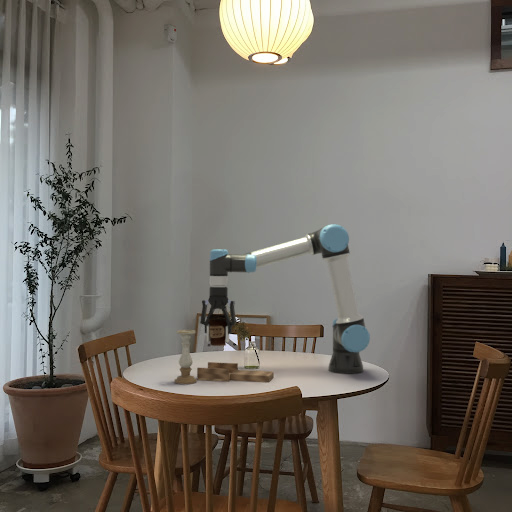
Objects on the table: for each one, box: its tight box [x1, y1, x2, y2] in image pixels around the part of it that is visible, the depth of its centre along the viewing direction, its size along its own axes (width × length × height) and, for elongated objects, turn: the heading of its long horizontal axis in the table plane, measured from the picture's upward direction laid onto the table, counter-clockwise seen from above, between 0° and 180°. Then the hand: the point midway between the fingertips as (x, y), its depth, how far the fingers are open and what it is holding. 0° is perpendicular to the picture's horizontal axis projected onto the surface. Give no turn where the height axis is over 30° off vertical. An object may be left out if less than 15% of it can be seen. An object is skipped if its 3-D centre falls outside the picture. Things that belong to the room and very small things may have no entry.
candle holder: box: [174, 329, 198, 385], centre depth 229 cm, size 9×9×20 cm
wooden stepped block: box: [196, 361, 275, 383], centre depth 237 cm, size 29×15×5 cm, turn 77°
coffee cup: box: [209, 313, 228, 347], centre depth 240 cm, size 9×8×13 cm
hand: (218, 341), depth 239 cm, fingers closed on coffee cup, 7 cm apart
